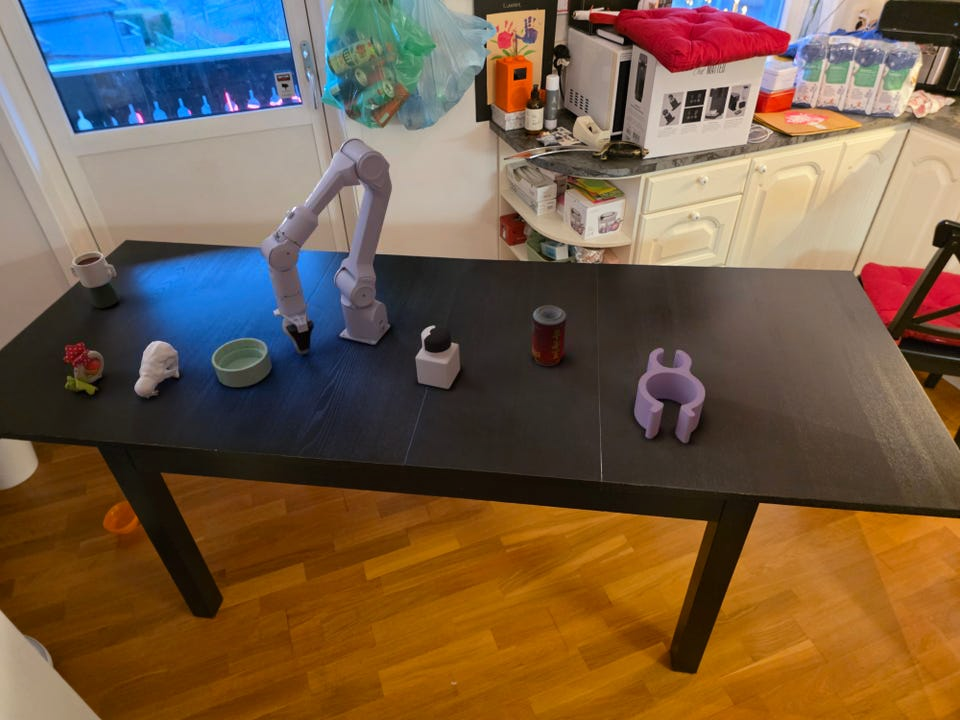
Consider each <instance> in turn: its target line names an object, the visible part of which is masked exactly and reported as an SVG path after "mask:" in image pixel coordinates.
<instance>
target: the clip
mask: <svg viewBox="0 0 960 720" xmlns="http://www.w3.org/2000/svg"><path fill="white" fill-rule="evenodd" d="M664 353H665V350H664V348H662V347H659V348H655V349H654V350H652V352H650V354H649V358H648V362H647V368H646V372H645V373H644V374H643V375H641V377H640V378H639V380H638V386H637V392H636V398H635V402H634V403H635V404H634V409H633V413H634V416H635V419H636V422H638V424H639V425H640V426H641V427H642V428H643V429H645V430H646V431H645V438H647V439H649V440H651V439H653V438H654V437H656V436H657V435H658V433H659V429H660V426H661V425H660V424H661V418H662V415H663V411H664V410H663V409H664V403H663V402H662V401H659V399H663V400H664V399H665V400H671V401H674V402H677V403H679V404H681V406H680V409H679V414H678V419H677V422H676V427H675V431H674V434H675V436H676V438H677V439H679V441H681V443H683V444H687V443H689V441H690V438H691V433H692V432H694V430H696V429H697V427H698V425H699V422H700V418H701V414H702V409H703V406H704V402H705V397H706V389H705V386H704V385H703V383H702V382H701V381H700V380H699V379H698V378H697V377H696V376H694V375H693V374H692V373H691V367H692V364H693V363H692V358H691V357H690V355H689V354H688V353H687V352H685V351H683V350H682V349H677V350H676V351H675V356H674V360H673V366H672V367H666V366H664V365H662V364H663V359H664Z"/></svg>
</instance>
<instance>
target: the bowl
mask: <svg viewBox="0 0 960 720" xmlns="http://www.w3.org/2000/svg"><path fill="white" fill-rule="evenodd" d="M211 365H212V367H213V370H214V373H215V375H216V378H217V380H218V382H220V383H221V384H222V385H224V386H226V387H231V388H243V387H249V386H252V385H255V384H257V383H259V382H260V381H262V380H263V379H265V378H266V377H267V376H268V375H269V374H270V372H271V370H272V368H273V362H272V359H271V355H270V351H269V347H268V346H267V344H266V343H265V342H264V341H263V340H261V339H258V338H254V337H243V338H242V337H241V338H237V339H233V340H231V341H228V342H226V343H224V344H222V345H221V346H219V347H218V348H217V349H216V350H215V351H214V352H213V354H212V356H211Z"/></svg>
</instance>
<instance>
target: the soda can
mask: <svg viewBox="0 0 960 720" xmlns="http://www.w3.org/2000/svg"><path fill="white" fill-rule="evenodd" d="M566 322H567V314H566V312H565V310H563V309H562V308H560V307H558V306H556V305H548V304H547V305H543V306H540V307H538V308H536V309H535V310H534V311H533V313H532V327H531V328H532V329H531V331H532V334H531V353H532V356H533V357H534V360H535V362H536V363H537V364H539V365H541V366H547V367H549V366H550V367H551V366H554V365H557V364H559V363H560V361H561V358H563V356H564V353H565V340H566V325H567V323H566Z"/></svg>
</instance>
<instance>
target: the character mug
mask: <svg viewBox="0 0 960 720" xmlns="http://www.w3.org/2000/svg"><path fill="white" fill-rule="evenodd" d="M105 258H106V257H105V256H104V253H102V252H100V251H87V252H85V253H82V254H79V255H77V256H75V257H74V258H73V259H72V261H71V264H70V265H69V270H70V272H71V274H72V276H73V277H75V278H78V279H79V281H80V283H81V286H83V287H85V288H88V292H89V295H90V299H91V302H92V304H93V306H94V307H95V308H98V309H105V308H109V307H111V306H113V305H116V303H118V302H119V301H120V300H121V297H120V295H119V293H118V292H117V290H116V288H115V286H114V285H113V284H112V282H111V280H112V278H115V277H116V276H117V272H116V269H115V266H114V265H113V264H109V263H108V262H107V260H106V259H105Z"/></svg>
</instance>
